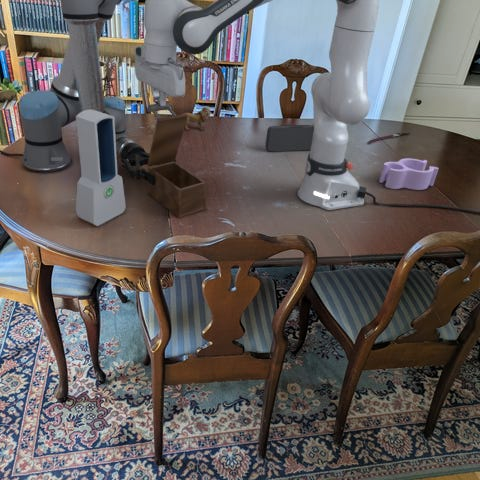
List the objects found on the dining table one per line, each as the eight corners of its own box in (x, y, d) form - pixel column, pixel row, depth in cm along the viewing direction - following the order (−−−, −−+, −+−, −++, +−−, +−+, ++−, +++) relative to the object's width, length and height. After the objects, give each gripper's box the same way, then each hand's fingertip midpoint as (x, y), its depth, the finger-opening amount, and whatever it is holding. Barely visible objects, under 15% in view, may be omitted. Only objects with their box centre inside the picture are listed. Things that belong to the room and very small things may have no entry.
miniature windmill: (115, 134, 188) (111, 55, 172) (96, 130, 189) (89, 52, 173) (124, 127, 195) (121, 51, 179) (105, 123, 196) (100, 48, 180)
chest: (205, 209, 143) (206, 182, 138) (178, 217, 138) (179, 190, 133) (174, 186, 154) (174, 161, 149) (148, 193, 149) (147, 167, 143)
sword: (405, 131, 223) (406, 129, 223) (410, 133, 221) (411, 131, 221) (362, 143, 208) (363, 140, 207) (367, 145, 206) (368, 143, 205)
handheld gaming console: (315, 147, 196) (319, 124, 190) (317, 149, 194) (322, 126, 188) (264, 149, 189) (267, 125, 183) (266, 152, 187) (269, 127, 181)
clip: (392, 192, 166) (397, 174, 162) (373, 176, 175) (377, 159, 172) (437, 188, 172) (443, 171, 168) (416, 174, 182) (422, 157, 178)
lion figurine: (207, 125, 206) (208, 105, 201) (211, 129, 202) (212, 109, 197) (174, 126, 201) (175, 106, 196) (177, 131, 197) (178, 110, 192)
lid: (187, 115, 135) (172, 96, 138) (159, 120, 130) (144, 101, 133) (175, 160, 148) (161, 142, 152) (148, 166, 143) (135, 148, 146)
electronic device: (94, 228, 128) (85, 122, 112) (75, 219, 131) (63, 114, 115) (126, 211, 138) (122, 111, 121) (108, 203, 141) (101, 104, 124)
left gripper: (157, 156, 167) (196, 179, 154) (100, 169, 154) (137, 196, 141) (157, 136, 163) (197, 158, 150) (99, 148, 150) (136, 174, 137)
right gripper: (192, 62, 125) (189, 113, 132) (149, 45, 137) (149, 93, 144) (173, 64, 121) (171, 116, 128) (130, 46, 133) (131, 95, 140)
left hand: (168, 177), depth 145 cm, fingers closed on chest, 10 cm apart
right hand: (159, 103), depth 136 cm, fingers closed, pressing on lid
